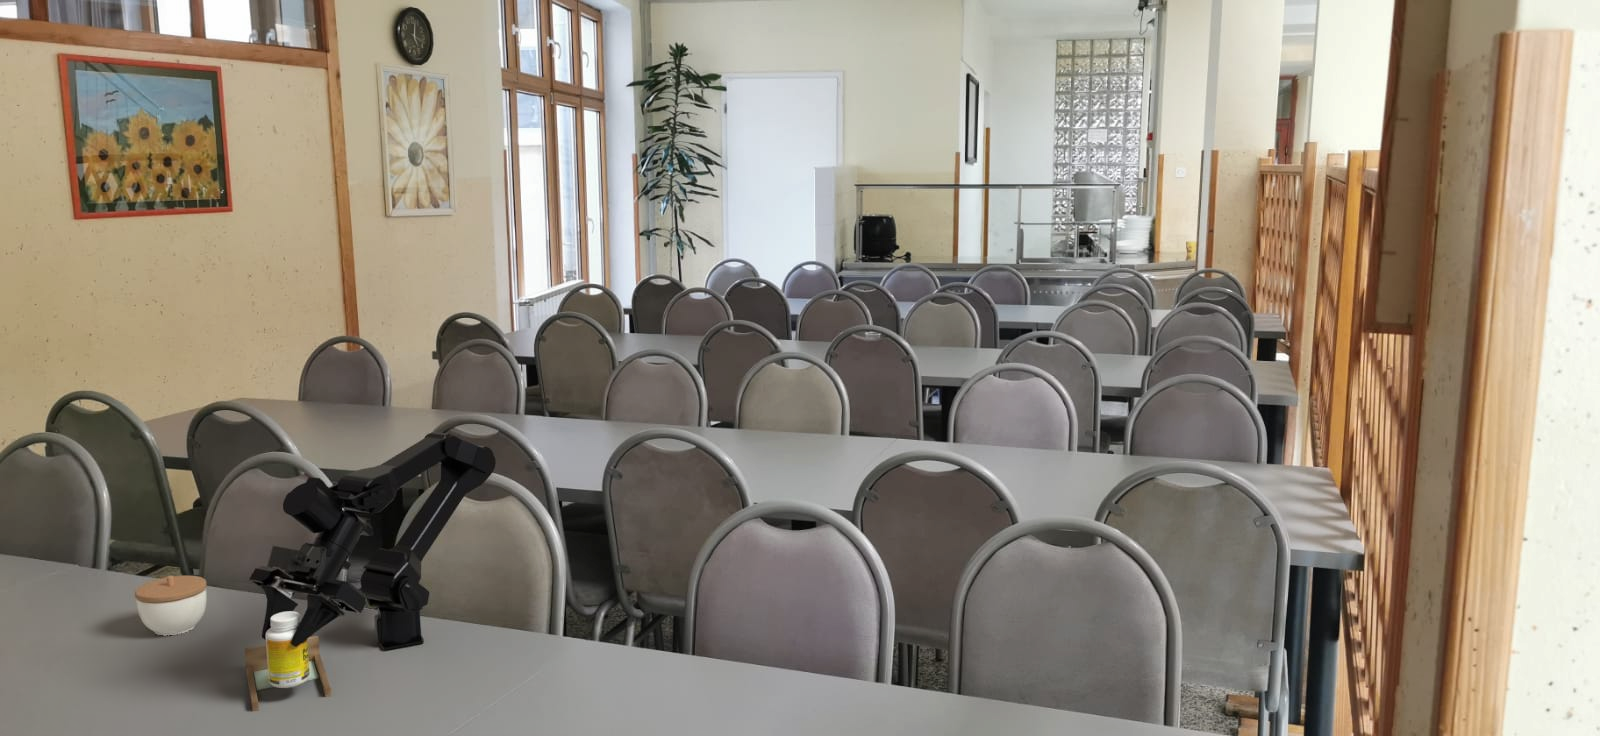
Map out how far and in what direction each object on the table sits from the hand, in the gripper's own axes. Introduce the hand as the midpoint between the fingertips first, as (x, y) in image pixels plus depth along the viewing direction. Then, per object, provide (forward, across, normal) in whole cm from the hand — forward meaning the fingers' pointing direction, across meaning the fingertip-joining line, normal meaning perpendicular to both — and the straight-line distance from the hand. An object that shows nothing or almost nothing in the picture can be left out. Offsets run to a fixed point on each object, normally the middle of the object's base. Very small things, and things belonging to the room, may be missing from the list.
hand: (278, 642), depth 170 cm
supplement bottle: (+4, 0, +6) cm, 7 cm away
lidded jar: (-2, -39, +15) cm, 42 cm away
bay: (+4, -4, +9) cm, 10 cm away
